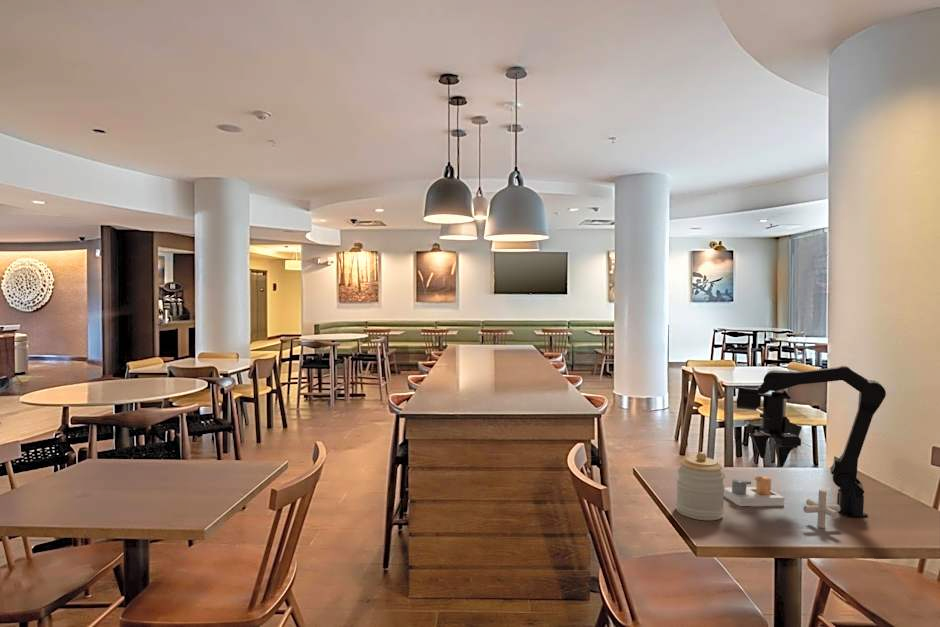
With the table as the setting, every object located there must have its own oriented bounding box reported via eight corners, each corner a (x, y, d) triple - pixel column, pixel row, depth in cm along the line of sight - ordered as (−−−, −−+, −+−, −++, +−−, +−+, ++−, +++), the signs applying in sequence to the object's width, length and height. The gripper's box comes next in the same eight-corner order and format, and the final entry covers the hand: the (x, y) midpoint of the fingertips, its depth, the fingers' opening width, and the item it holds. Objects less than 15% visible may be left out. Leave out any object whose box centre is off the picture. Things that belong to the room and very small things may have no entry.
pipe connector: (823, 519, 171) (825, 484, 170) (851, 533, 161) (853, 496, 160) (792, 520, 169) (793, 485, 168) (818, 534, 159) (820, 497, 159)
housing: (783, 505, 181) (784, 486, 180) (740, 506, 179) (740, 486, 179) (763, 494, 191) (764, 475, 190) (722, 495, 189) (722, 476, 189)
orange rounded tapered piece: (773, 499, 183) (773, 479, 183) (759, 499, 183) (759, 479, 183) (765, 494, 187) (766, 475, 187) (751, 494, 187) (752, 475, 187)
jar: (665, 507, 177) (668, 448, 176) (701, 503, 182) (703, 445, 181) (696, 523, 165) (699, 460, 164) (733, 518, 169) (736, 456, 169)
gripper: (818, 417, 177) (816, 470, 177) (777, 405, 195) (776, 453, 196) (783, 418, 175) (782, 471, 176) (746, 406, 194) (744, 454, 194)
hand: (771, 462), depth 185 cm, fingers open, 9 cm apart
